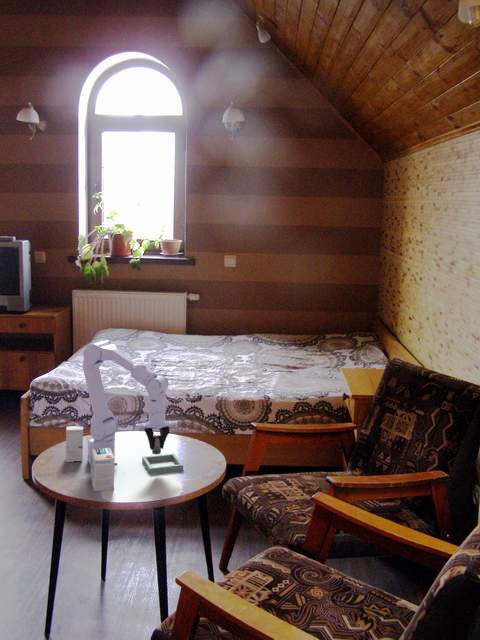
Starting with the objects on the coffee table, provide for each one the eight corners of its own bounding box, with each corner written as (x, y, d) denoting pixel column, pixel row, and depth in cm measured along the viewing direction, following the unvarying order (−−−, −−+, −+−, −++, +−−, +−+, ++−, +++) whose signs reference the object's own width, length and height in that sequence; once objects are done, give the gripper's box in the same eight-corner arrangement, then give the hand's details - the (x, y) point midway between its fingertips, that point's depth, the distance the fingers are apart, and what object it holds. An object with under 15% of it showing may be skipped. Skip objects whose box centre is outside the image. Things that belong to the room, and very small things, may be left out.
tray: (149, 474, 228) (149, 468, 228) (142, 462, 239) (142, 456, 239) (183, 470, 233) (183, 465, 232) (174, 458, 244) (174, 453, 243)
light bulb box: (90, 479, 222) (90, 448, 221) (110, 477, 225) (110, 447, 223) (93, 491, 213) (93, 459, 211) (114, 489, 215) (115, 458, 213)
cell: (153, 454, 228) (153, 437, 227) (151, 451, 231) (151, 434, 230) (161, 454, 229) (161, 436, 228) (159, 451, 232) (160, 433, 231)
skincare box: (65, 462, 237) (65, 430, 235) (65, 458, 241) (65, 426, 239) (83, 461, 238) (83, 429, 236) (83, 457, 242) (83, 425, 240)
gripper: (138, 415, 222) (138, 454, 224) (180, 412, 227) (179, 450, 229) (134, 409, 228) (134, 447, 230) (175, 406, 233) (174, 443, 235)
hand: (156, 448), depth 230 cm, fingers closed on cell, 3 cm apart
